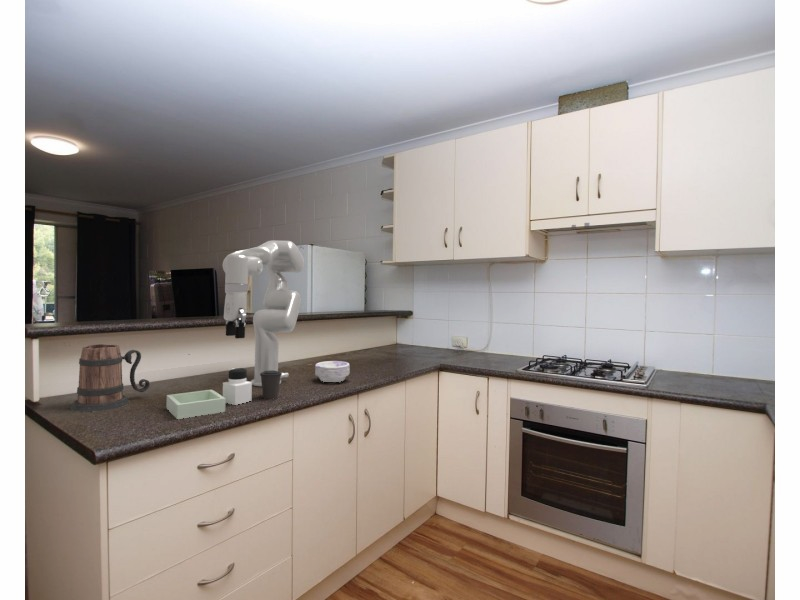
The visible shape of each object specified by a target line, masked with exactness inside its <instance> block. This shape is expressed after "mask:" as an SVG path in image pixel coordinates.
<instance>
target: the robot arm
mask: <svg viewBox="0 0 800 600" xmlns="http://www.w3.org/2000/svg"><path fill="white" fill-rule="evenodd" d="M264 267H266V270H267V274H268V279H269V283H268V285H267V288H266V292H265V294H264V298H263V302H262V303H263V307H264V308H265V309H258V310H257V311H256V312H255V313H254V314H253V318H252V324H253V328H254V330H253V331H254V377H253V379H251V380H250V381H249V382H252V386H254V387H255V386H256V387H262V383H261V376H260V373H262V372H264V371H278V372H279V340H278V338H277V336H276V334H275V333H291V332H293V331H294V329H295V327H296V324H297V320H298V316H299V313H300V309H301V305H302V299H301V294H300V293H299V292H298V291H297V290H292V289H290V290H289V286H290V285H289V282H288V279H287V278H286V277H285V276H284V275H283V274H282V273H300V272H302V271H303V270H304V269H305V258H304V256H303V254H302V253H301V251H300V249H299V247H298V246H297V245H296V244H295V243H294V242H293V241H291V240H273V239H272V240H267V241H265V242H264V243H262V244H260V245H258V246H255V247H251V248H246V249H242V250H241V249H240V250H236V251H234V252H231V253H229V254H227V255H226V256H225V258H224V259H223V261H222V269H223V271H224V273H225V276H224V277H225V283H224V293H225V299H224V306H223V307H224V308H223V319H224V320H225V336H226V337H230V336H233V337H234V338H235V339H245V337H246V322H247V321H246V318H247V297H246V296H247V294H248V285H249V284H248V283H249V282H248V281H249V280H248V279H249V277H257V276H259V275H261V274H262V272H263V271H264ZM281 373H282V375H281V378H280V384H281V383H282V379H283V378H289V375H290V374H289V372H281Z"/></svg>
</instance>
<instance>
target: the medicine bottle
mask: <svg viewBox="0 0 800 600" xmlns="http://www.w3.org/2000/svg"><path fill="white" fill-rule="evenodd" d="M247 371H248V370H247V369H246V368H244V367H233V368H231V369H229V370H228V381H225V382H222V396H223V397H224V398H226V401H225V404H227V403H228V404H227V405H231V404H232V405H231V406H234V405H236V406H239V405H238V404H240V405H243V404H242V403H244V404H246V402H248V403H250V402H249V401H251V402H252V397H253V396H252V395H253V392H252V391H253V390H252V388H253V385H252V382H250V381H248V379H247V378H248V377H247V375H248V374H247V373H248V372H247Z"/></svg>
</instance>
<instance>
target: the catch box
mask: <svg viewBox="0 0 800 600" xmlns="http://www.w3.org/2000/svg"><path fill="white" fill-rule="evenodd" d="M225 401H226V398H224V397H223V395H221V394H219V392H217V391H215V390H214V389H205V390H196V391H190V392H183V393H182V392H181V393H175V394H174V393H173V394H167V395H166V410H167V411H168V410H169V411H168V412H169V413H170V414H171V415H172V416H173V417H174V418H175V419H176V420H177V419H178V420H183V418H184V419H189V417H190V418H196V417H195V416H197V417H201V415H203V416H208V414H209V415H214V414H220V412H221V413H225V412H226V403H225Z"/></svg>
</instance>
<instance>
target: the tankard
mask: <svg viewBox="0 0 800 600" xmlns="http://www.w3.org/2000/svg"><path fill="white" fill-rule="evenodd" d="M132 354H136V357H135V360H134V362H132V358H133V357H132ZM141 359H142V353H141V352H140V351H139V350H136V349H130V350H128V351H127V352H126V353H125V354H124V355H123V356H122V353H121V348H120V345H117V344H103V343H102V344H99V343H98V344H90V345H87V346H83V347H82V350H81V354H80V358H79V359H78V365H79V370H78V371H79V373H78V375H79V376H78V387H77V388H76V394H77V399H76V400H74V401H73V402H72V405H71V406H70V407H69V408H70V409H71V410H73V411H72V412H75V411H79V412H78V413H92V412H91V411H99V412H104V411H103V410H107V411H111V410H110V409H112V410H116V409H115V408H117V409H120V408H119V407H121V408H123V407H122V406H124V407H126V406H128V405H130V403H131V401H130V400H129V399H128V398H127V396H126V395H124V389H125V388H124V383H123V369H122V367H123V365H122V362H123V360H124V361H125V362H126V363H127V364H130V365H131V367H130V371H129V381H130V384H131V387H132V388H133V390H135V391H136V392H140V393H143V392H145V391H147V390H148V389H149V388H150V381H149V380H147V379H146V378H142V379H140V380H139V381H138V386H139V387H142V388H139V387H137V385H136V381H135V373H136V369H137V367H138V365H139V364H140V362H141ZM143 383H144V384H143ZM129 402H130V403H129ZM127 404H128V405H127ZM125 405H126V406H125ZM70 409H69V410H70ZM71 410H70V411H71ZM84 411H85V412H84ZM88 411H89V412H88Z"/></svg>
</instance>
